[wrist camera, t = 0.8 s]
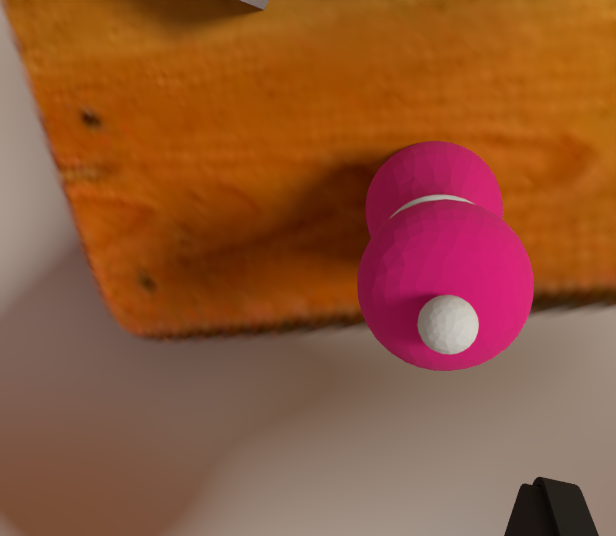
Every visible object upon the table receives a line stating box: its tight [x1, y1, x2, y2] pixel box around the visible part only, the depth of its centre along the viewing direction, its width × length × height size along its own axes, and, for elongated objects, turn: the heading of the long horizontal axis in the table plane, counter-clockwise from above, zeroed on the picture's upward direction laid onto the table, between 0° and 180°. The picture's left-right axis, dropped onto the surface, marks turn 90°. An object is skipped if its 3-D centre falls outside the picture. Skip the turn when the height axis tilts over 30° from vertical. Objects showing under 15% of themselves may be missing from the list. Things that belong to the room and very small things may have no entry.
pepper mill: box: [357, 141, 534, 371], centre depth 25 cm, size 7×7×20 cm
